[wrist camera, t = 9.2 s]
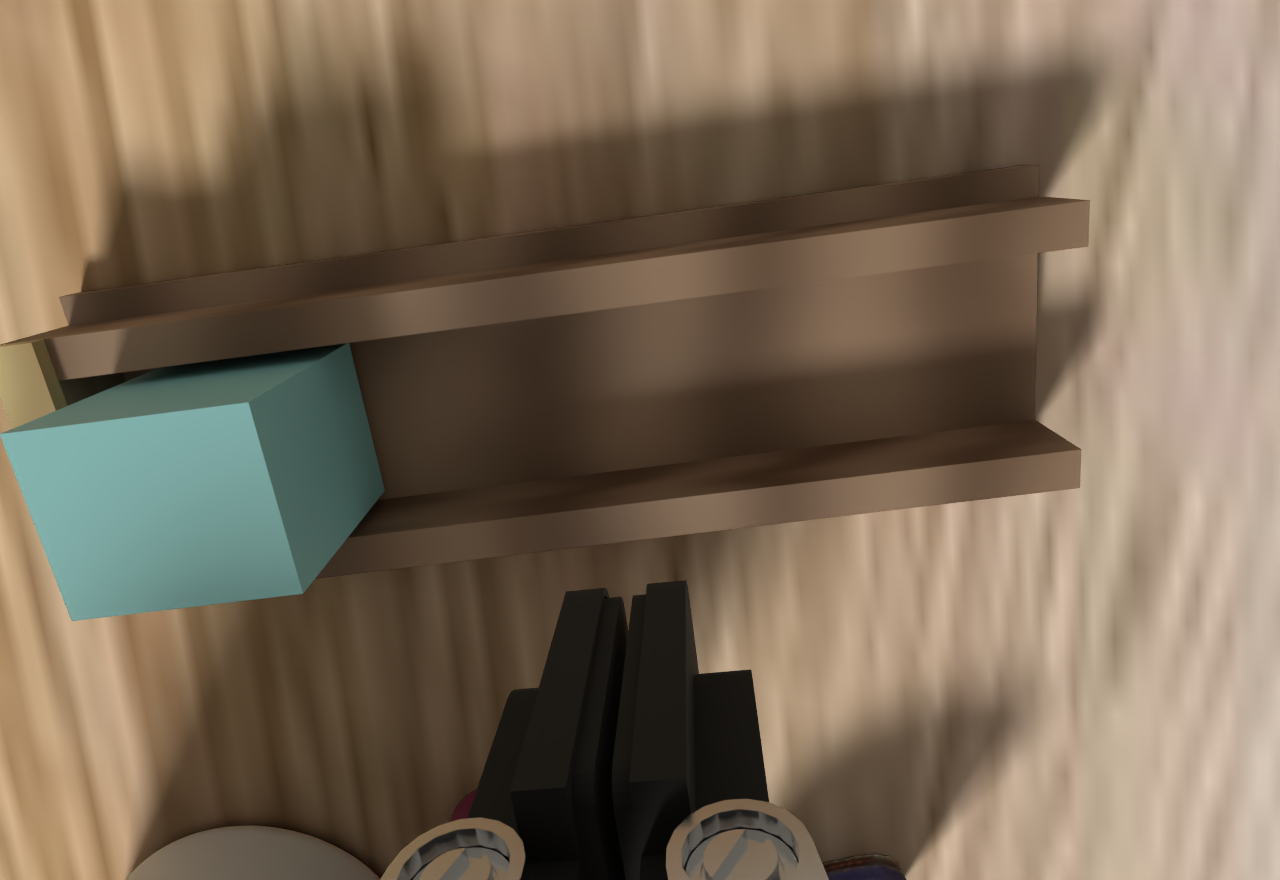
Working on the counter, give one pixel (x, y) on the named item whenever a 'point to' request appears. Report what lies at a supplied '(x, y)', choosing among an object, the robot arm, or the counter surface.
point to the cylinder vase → (251, 857)
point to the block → (200, 481)
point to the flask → (864, 868)
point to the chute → (642, 365)
